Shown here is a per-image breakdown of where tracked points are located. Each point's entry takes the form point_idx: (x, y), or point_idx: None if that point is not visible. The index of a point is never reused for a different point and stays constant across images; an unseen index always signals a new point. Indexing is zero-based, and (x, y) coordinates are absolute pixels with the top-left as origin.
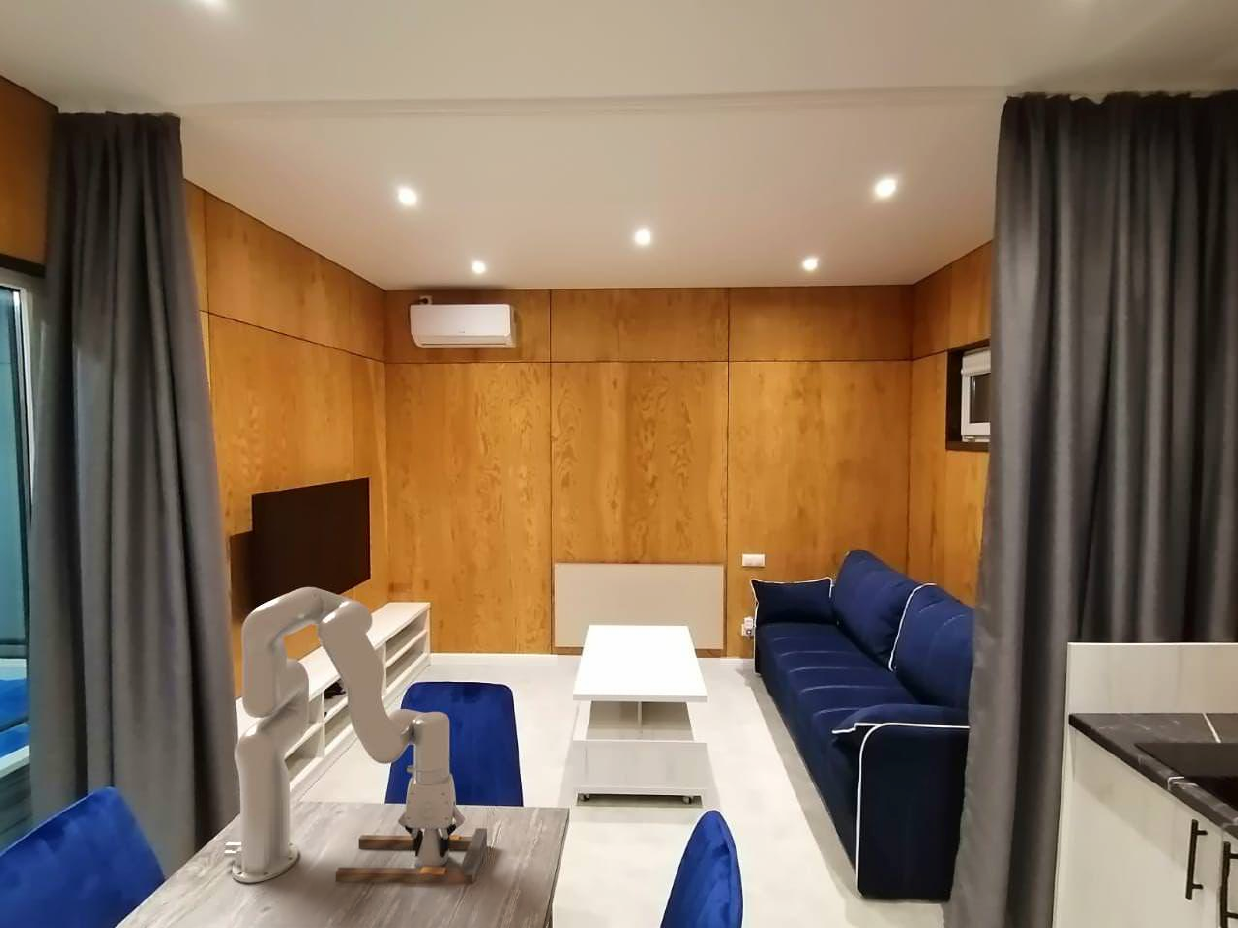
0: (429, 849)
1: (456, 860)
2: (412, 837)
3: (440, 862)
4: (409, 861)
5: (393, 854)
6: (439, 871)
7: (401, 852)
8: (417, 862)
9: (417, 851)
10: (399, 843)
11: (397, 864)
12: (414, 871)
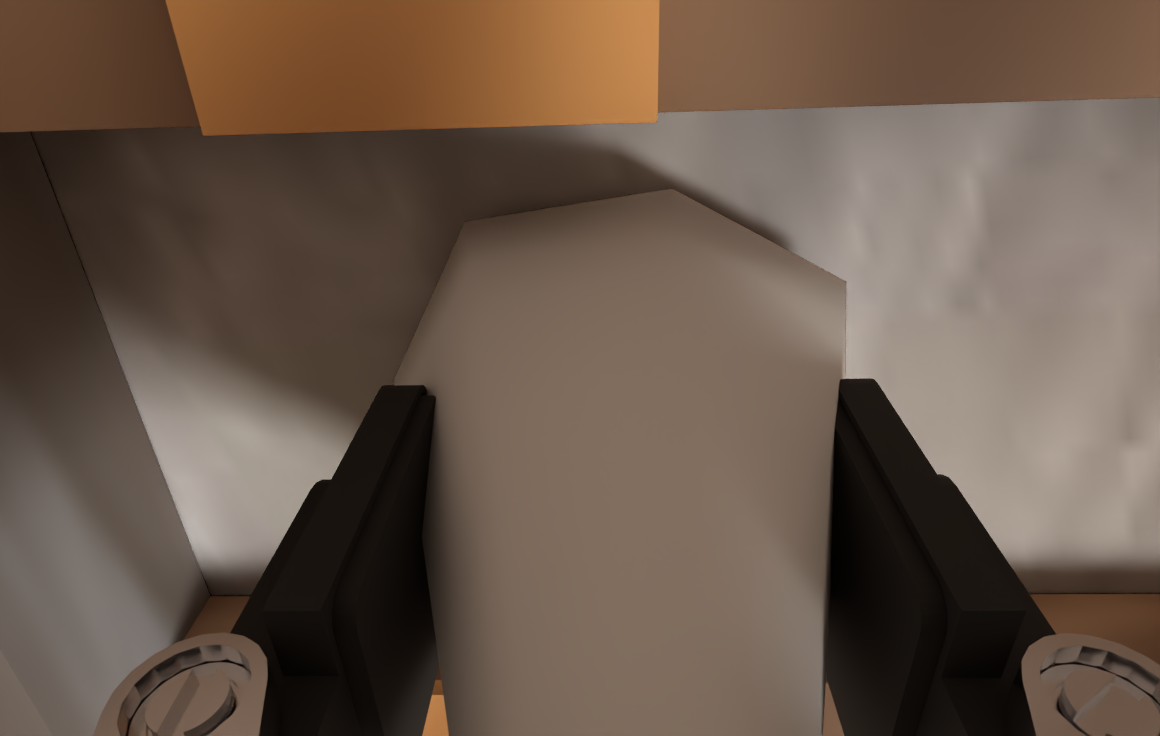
0: (603, 430)
1: (322, 438)
2: (1117, 662)
3: (437, 327)
4: (922, 404)
5: (1150, 507)
6: (268, 7)
7: (1050, 538)
8: (799, 297)
9: (856, 430)
10: (1119, 641)
11: (1081, 347)
12: (794, 21)
